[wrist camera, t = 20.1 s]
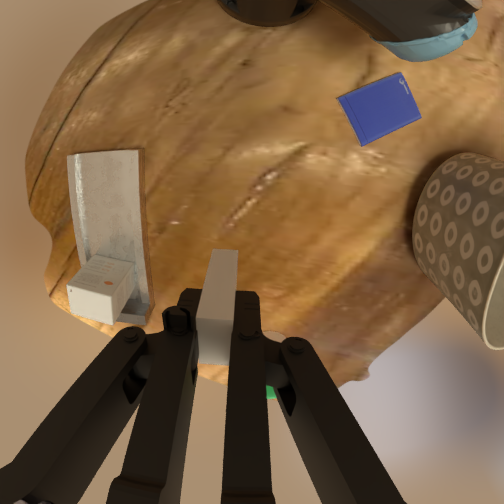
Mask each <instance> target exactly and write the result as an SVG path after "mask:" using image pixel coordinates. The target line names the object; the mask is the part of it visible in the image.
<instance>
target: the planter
mask: <svg viewBox="0 0 504 504" xmlns="http://www.w3.org/2000/svg"><path fill="white" fill-rule="evenodd" d="M412 243H413V251H414V255H415V258H416V261H417V263H418V265H419V267H420V269H421V270H422V272H423V273H424V274H425V275H426V276H427V277H428V278H429V279H430V280H431V281H432V282H433V283H434V284H435V286H436V287H437V288H438V289H439V290H440V291H441V292H442V293H443V294H444V295H445V296H446V298H447V299H448V300H449V301H450V302H451V303H452V304H453V305H454V307H455V308H456V309H457V310H458V311H459V312H460V313H461V315H462V316H463V317H464V318H465V319H466V321H467V322H468V323H469V324H470V325H471V327H472V328H473V329H474V330H475V331H476V333H477V334H478V335H479V336H480V338H481V339H482V340H483V342H484V343H485V344H486V345H487V346H488V347H489V348H491V349H494V350H501V349H504V161H500V160H497V159H494V158H491V157H487V156H484V155H480V154H477V153H471V152H466V153H460V154H457V155H454V156H452V157H450V158H449V159H447V160H446V161H445V162H443V163H442V164H441V165H440V166H439V167H438V168H437V169H436V170H435V171H434V173H433V174H432V175H431V177H430V178H429V180H428V181H427V183H426V185H425V187H424V189H423V191H422V193H421V195H420V198H419V200H418V203H417V207H416V210H415V215H414V220H413V228H412Z"/></svg>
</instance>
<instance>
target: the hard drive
mask: <svg viewBox="0 0 504 504" xmlns="http://www.w3.org/2000/svg"><path fill="white" fill-rule="evenodd" d="M336 100H337V101H338V103H339V105H340V107H341V109H342V111H343V112H344V114H345V116H346V118H347V120H348V122H349V124H350V126H351V128H352V130H353V132H354V134H355V136H356V138H357V140H358V143H359V145H360V146H361V147H362V146H364V145H366V144H368V143H370V142H372V141H374V140H376V139H379V138H381V137H383V136H385V135H387V134H389V133H391V132H393V131H395V130H397V129H399V128H401V127H404V126H406V125H408V124H410V123H412V122H414V121H416V120H418V119H420V118H422V117H421V114H420V112H419V109H418V107H417V104H416V102H415V100H414V98H413V95H412V93H411V91H410V89H409V87H408V84H407V82H406V80H405V78H404V76H403V74H402V73H401V72H399V73H396V74H393V75H391V76H388V77H386V78H383V79H381V80H378V81H376V82H373V83H371V84H368V85H366V86H364V87H361V88H359V89H357V90H354V91H352V92H350V93H348V94H345V95H343V96H341V97H339V98H337V99H336Z"/></svg>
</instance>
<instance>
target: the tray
mask: <svg viewBox="0 0 504 504" xmlns="http://www.w3.org/2000/svg"><path fill="white" fill-rule="evenodd" d="M67 167H68V181H69V192H70V202H71V210H72V218H73V225H74V231H75V237H76V243H77V249H78V254H79V259H80V264H81V268H82V267H83V266H84V265H85V264H86V263H87V262H88V261H89V260H90V259H91V258H92V257H93V256H94V255H99V256H104V257H109V258H113V259H118V260H122V261H127V262H132V263H134V290H133V292H132V293H131V295H130V297H129V299H128V300H127V302H126V304H125V306H124V308H123V309H122V311H121V313H120V315H119V316H118V318H117V320H116V321H118V322H125V323H132V324H140V325H147V322H148V320H149V318H150V315H151V313H152V311H153V309H154V306H155V301H154V293H153V286H152V277H151V268H150V259H149V248H148V236H147V222H146V205H145V178H144V149H124V150H109V151H96V152H85V153H75V154H71V155H68V156H67Z"/></svg>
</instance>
